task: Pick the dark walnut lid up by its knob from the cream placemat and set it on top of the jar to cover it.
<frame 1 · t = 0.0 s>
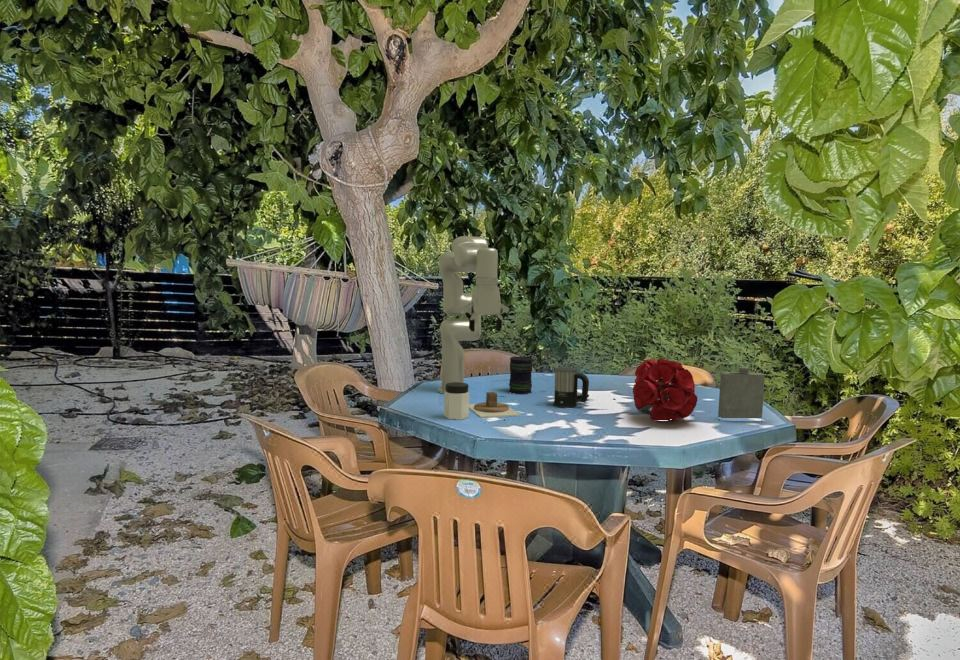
hand: (485, 331, 220), 31 cm above the table, tool pointing down, fingers open, 9 cm apart
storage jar: (520, 392, 268), on the table
bouquet: (659, 419, 226), on the table
milk frother: (571, 404, 247), on the table
jar: (456, 417, 221), on the table
hip flask: (740, 421, 226), on the table
placemat: (492, 410, 232), on the table
lid: (491, 408, 233), point 1 cm above the table, touching placemat
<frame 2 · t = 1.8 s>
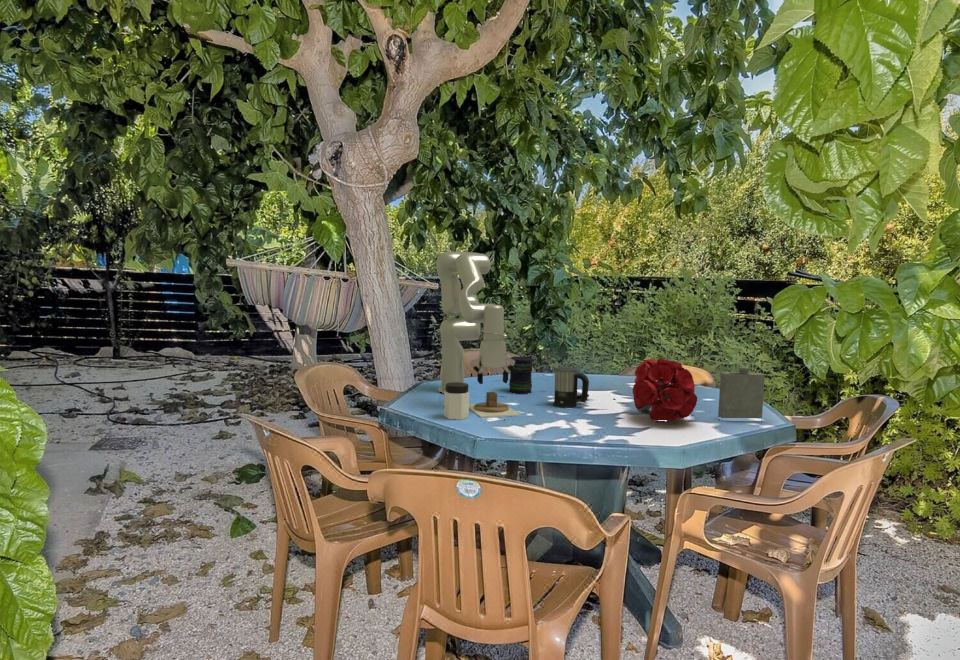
hand: (492, 383, 231), 11 cm above the table, tool pointing down, fingers open, 9 cm apart
nothing on the table moved.
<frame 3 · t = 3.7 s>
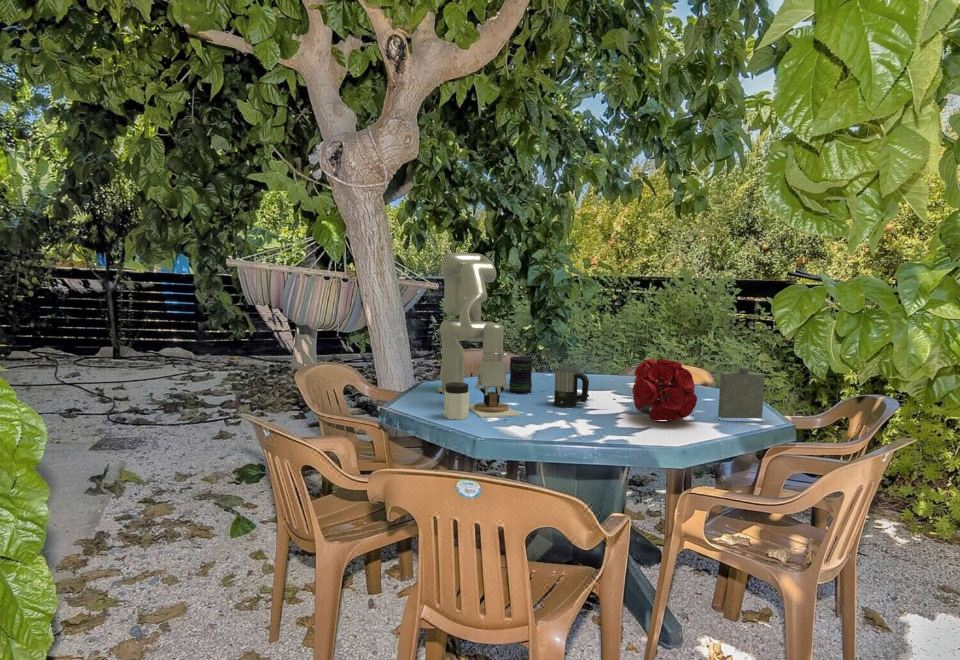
hand: (491, 404, 233), 2 cm above the table, tool pointing down, fingers closed on lid, 3 cm apart
lid: (491, 408, 233), point 1 cm above the table, touching gripper, placemat
everything else where it was.
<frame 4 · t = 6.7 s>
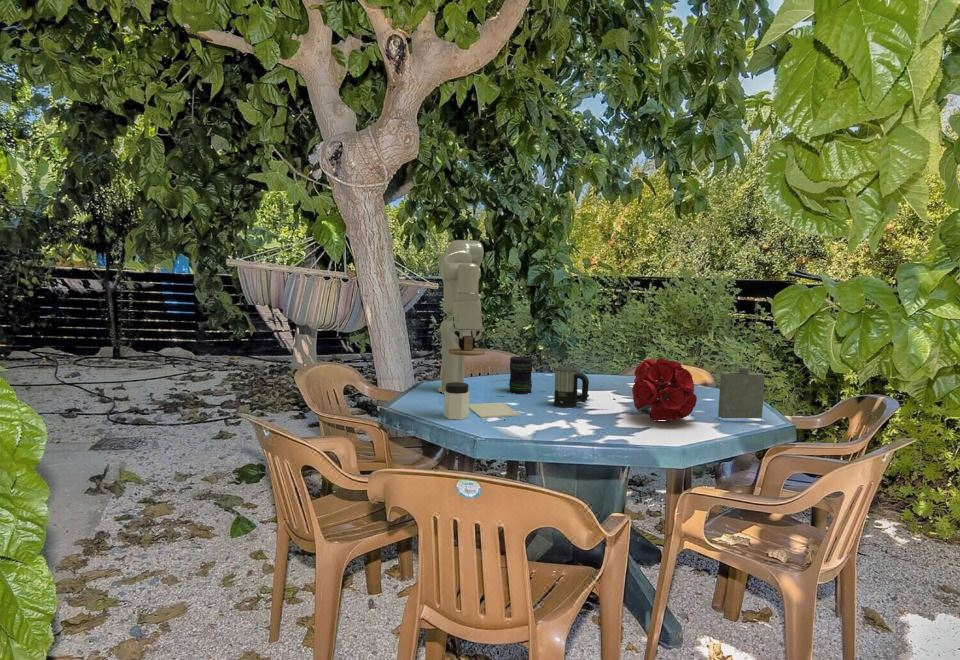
hand: (466, 348, 221), 25 cm above the table, tool pointing down, fingers closed on lid, 3 cm apart
lid: (466, 353, 221), point 23 cm above the table, touching gripper
everything else where it was.
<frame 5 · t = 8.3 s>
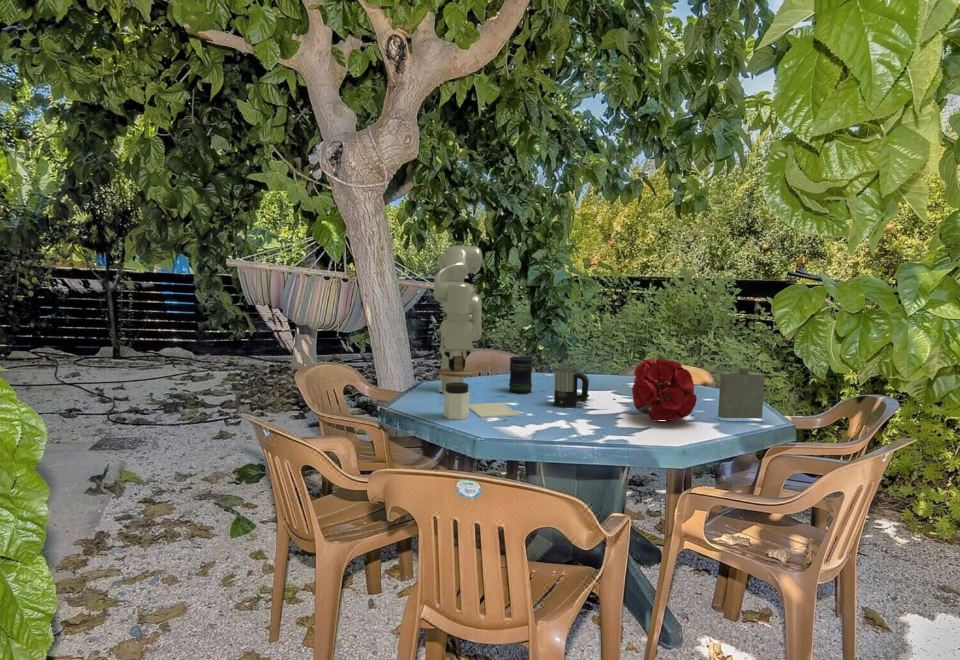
hand: (456, 369, 219), 18 cm above the table, tool pointing down, fingers closed on lid, 3 cm apart
lid: (456, 373, 219), point 16 cm above the table, touching gripper
everything else where it was.
when the fingers open (15 cm above the table, at t = 9.8 s): lid drops 1 cm, resting on jar.
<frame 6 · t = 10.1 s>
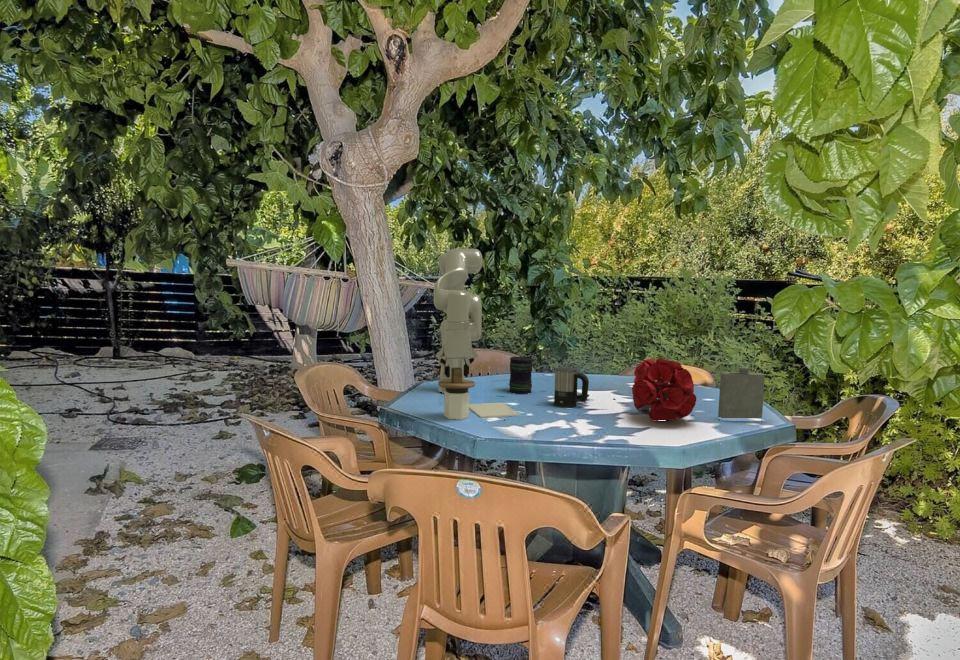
hand: (456, 376, 219), 15 cm above the table, tool pointing down, fingers open, 6 cm apart
jar: (456, 417, 221), on the table, touching lid
lid: (456, 385, 220), point 12 cm above the table, touching jar
everything else where it was.
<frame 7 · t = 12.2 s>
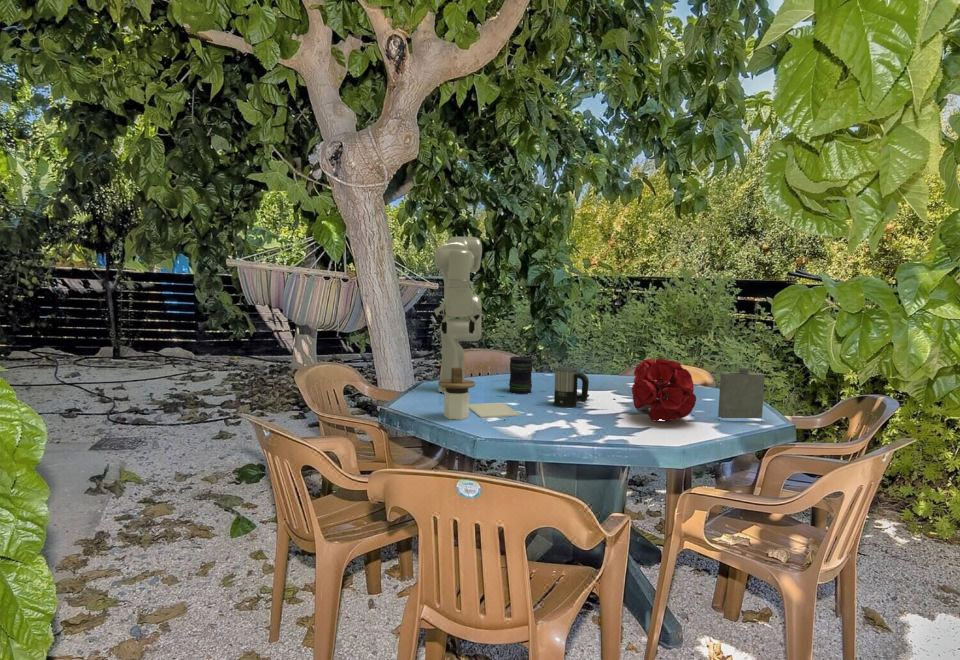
hand: (457, 333, 218), 30 cm above the table, tool pointing down, fingers open, 9 cm apart
nothing on the table moved.
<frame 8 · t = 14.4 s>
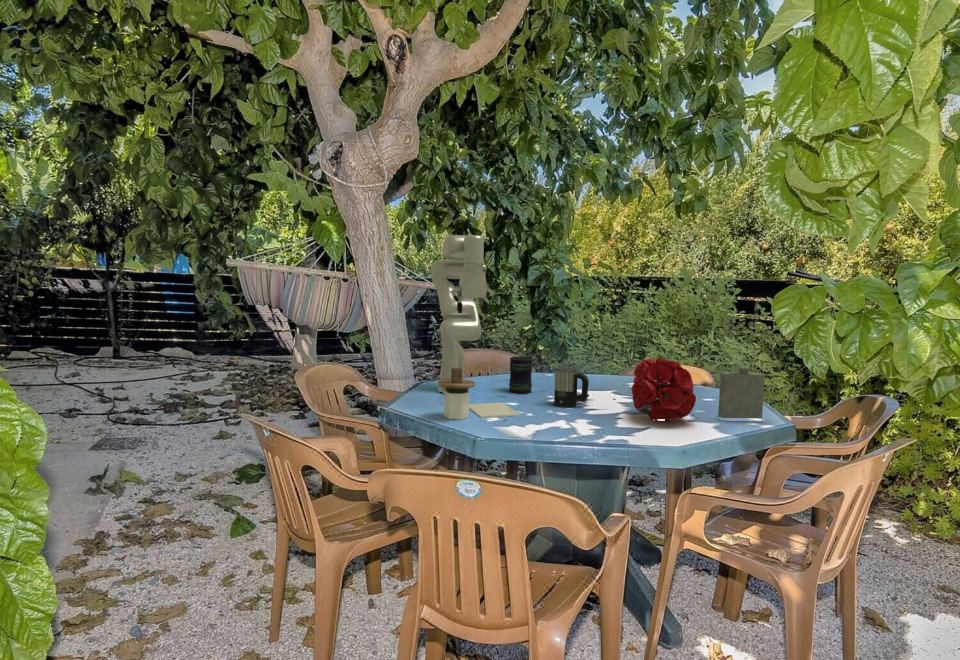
hand: (472, 313, 235), 36 cm above the table, tool pointing down, fingers open, 9 cm apart
nothing on the table moved.
at the end: lid 0.3 cm off-centre on the jar, point 12.0 cm above the jar's base; lid touching jar; jar tilted 0° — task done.
